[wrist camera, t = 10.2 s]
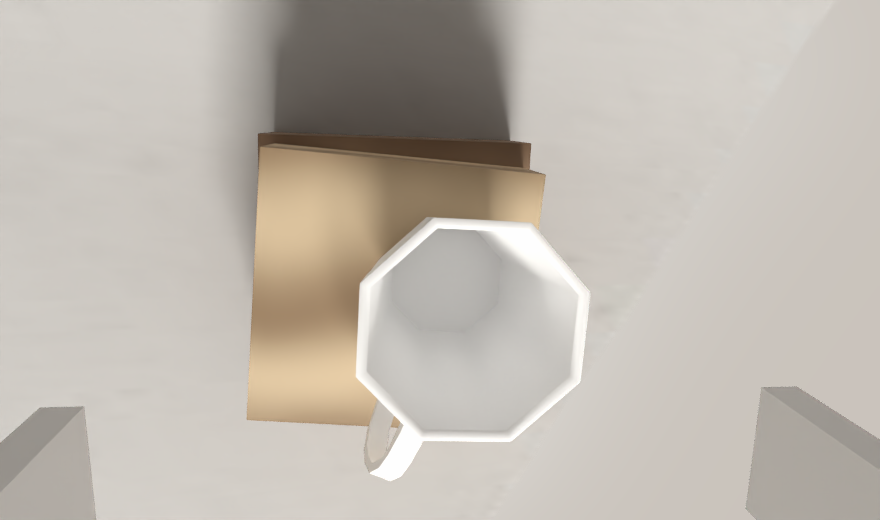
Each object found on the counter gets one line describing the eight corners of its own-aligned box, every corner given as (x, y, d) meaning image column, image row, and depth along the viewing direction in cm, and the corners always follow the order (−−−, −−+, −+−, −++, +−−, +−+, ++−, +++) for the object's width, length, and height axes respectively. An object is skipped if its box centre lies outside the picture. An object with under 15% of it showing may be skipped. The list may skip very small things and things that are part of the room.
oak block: (275, 143, 29) (259, 146, 25) (523, 167, 30) (545, 174, 26) (262, 382, 31) (246, 420, 27) (494, 395, 32) (511, 433, 28)
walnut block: (274, 131, 33) (257, 133, 28) (508, 140, 35) (530, 143, 30) (277, 357, 36) (262, 395, 31) (496, 358, 37) (515, 393, 32)
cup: (558, 230, 26) (639, 275, 19) (448, 442, 28) (480, 567, 20) (400, 152, 25) (416, 165, 17) (293, 378, 27) (262, 486, 19)
